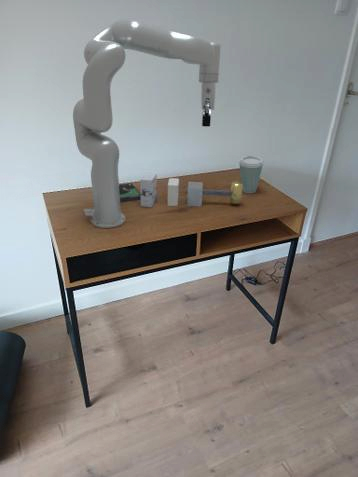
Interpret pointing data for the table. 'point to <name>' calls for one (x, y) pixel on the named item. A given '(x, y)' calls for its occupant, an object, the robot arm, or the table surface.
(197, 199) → the block
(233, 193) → the sliding bolt
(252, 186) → the disposable coffee cup
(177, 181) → the white rectangular block
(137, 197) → the disk drive
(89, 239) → the table surface
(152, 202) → the ink box
